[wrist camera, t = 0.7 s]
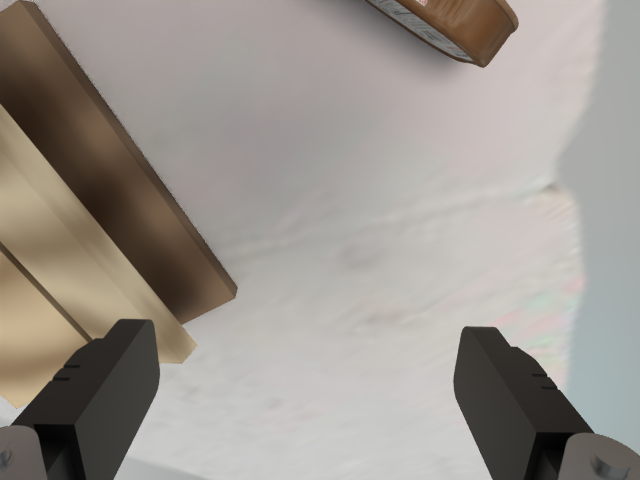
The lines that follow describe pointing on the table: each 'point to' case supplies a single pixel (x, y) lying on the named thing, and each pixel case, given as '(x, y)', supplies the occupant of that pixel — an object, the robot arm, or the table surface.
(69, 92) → the floor board
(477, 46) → the tin
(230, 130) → the table surface
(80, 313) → the oak plank
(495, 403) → the robot arm
